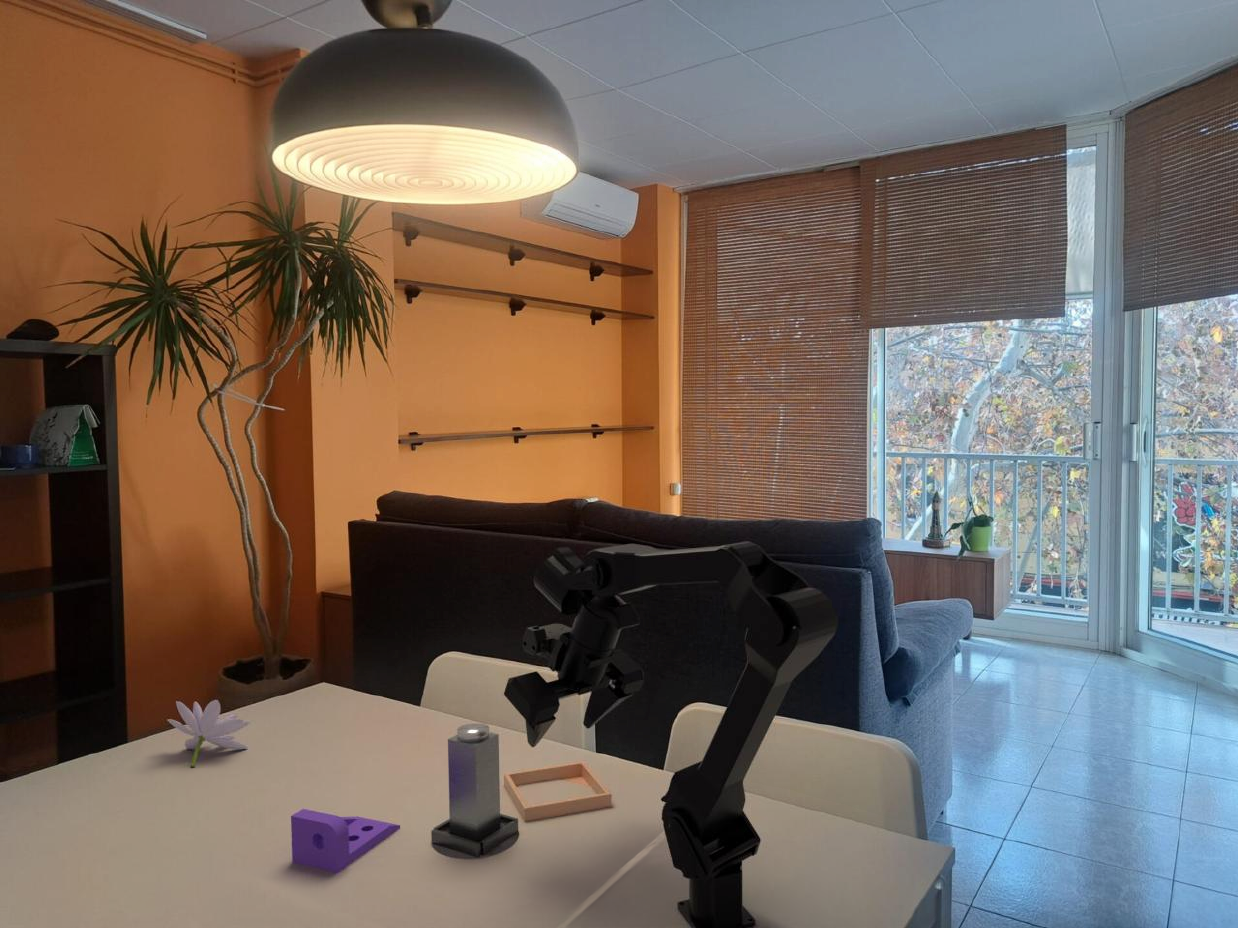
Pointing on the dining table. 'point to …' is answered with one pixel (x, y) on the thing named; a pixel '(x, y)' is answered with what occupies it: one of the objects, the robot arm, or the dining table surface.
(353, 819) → the bracket
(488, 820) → the strut
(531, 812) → the tray
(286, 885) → the dining table surface
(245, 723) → the water lily
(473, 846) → the socket cup
